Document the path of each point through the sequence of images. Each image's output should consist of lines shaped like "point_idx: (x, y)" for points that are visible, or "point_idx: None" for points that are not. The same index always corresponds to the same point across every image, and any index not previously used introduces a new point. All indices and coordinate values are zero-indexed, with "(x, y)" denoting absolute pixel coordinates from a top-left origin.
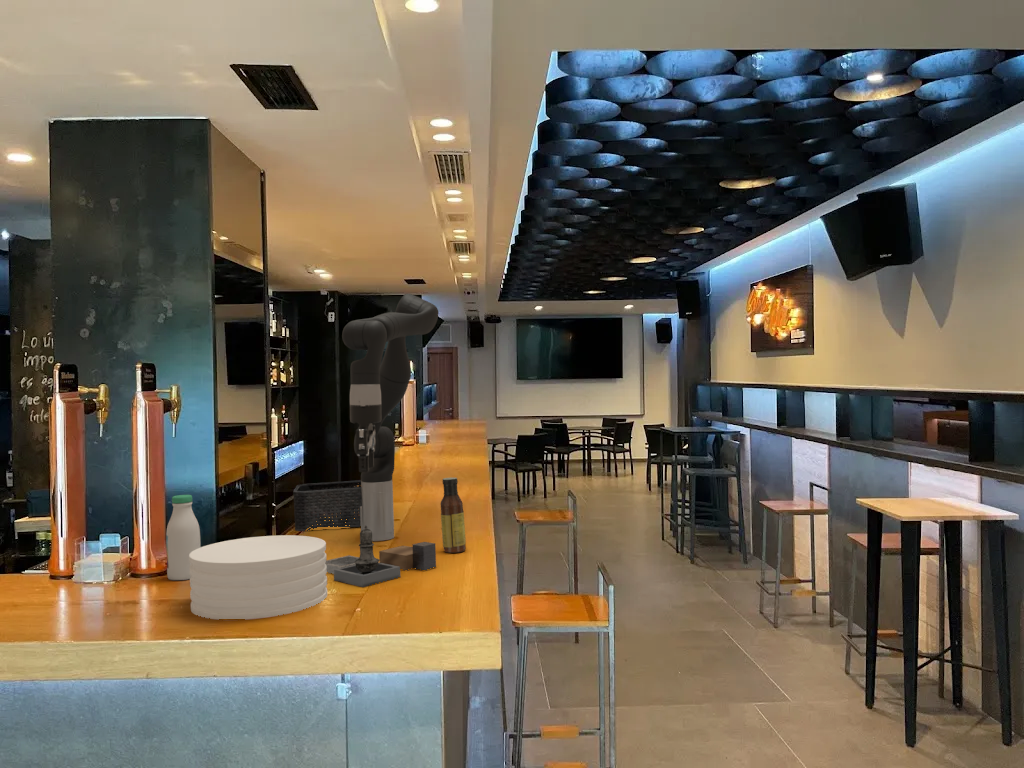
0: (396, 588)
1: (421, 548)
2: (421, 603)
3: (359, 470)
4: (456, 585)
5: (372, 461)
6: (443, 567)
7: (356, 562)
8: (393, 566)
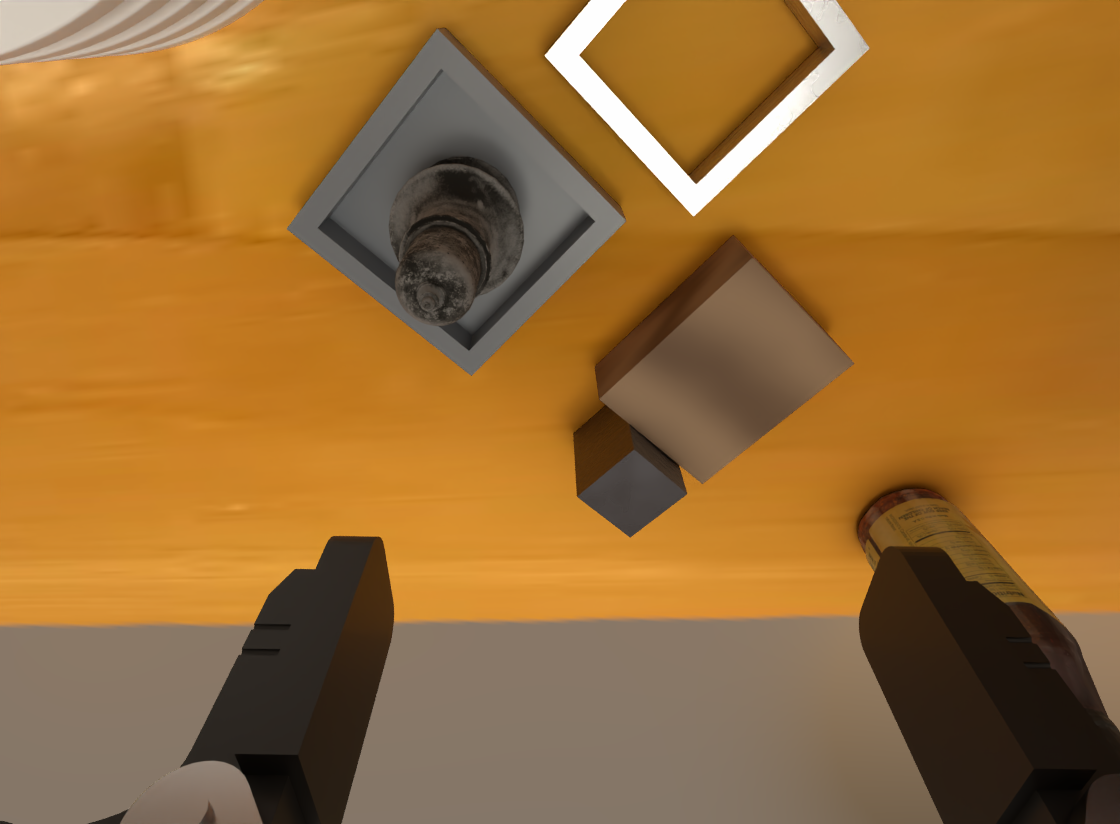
0: (293, 356)
1: (585, 481)
2: (96, 456)
3: (329, 550)
4: None
5: (897, 700)
6: None
7: (413, 183)
8: (480, 346)
